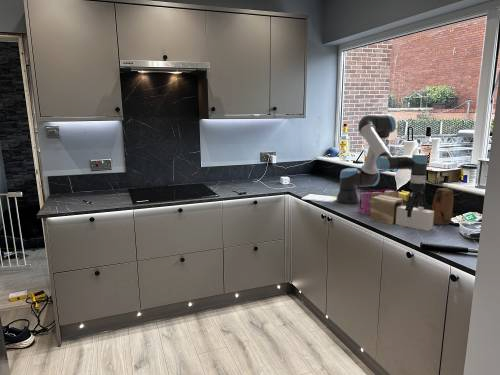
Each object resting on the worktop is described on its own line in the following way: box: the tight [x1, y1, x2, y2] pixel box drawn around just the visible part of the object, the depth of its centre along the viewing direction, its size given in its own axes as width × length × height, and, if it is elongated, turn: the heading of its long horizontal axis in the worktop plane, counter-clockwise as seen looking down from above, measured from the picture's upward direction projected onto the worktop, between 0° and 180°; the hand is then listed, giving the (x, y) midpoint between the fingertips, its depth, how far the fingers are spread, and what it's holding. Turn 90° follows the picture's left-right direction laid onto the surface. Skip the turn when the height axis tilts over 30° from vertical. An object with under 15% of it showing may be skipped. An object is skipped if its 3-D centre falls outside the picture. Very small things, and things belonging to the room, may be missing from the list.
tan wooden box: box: [369, 195, 404, 225], centre depth 219 cm, size 10×14×13 cm
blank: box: [395, 204, 434, 232], centre depth 207 cm, size 6×18×10 cm, turn 46°
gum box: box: [358, 189, 400, 215], centre depth 236 cm, size 24×8×14 cm, turn 99°
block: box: [431, 187, 454, 226], centre depth 211 cm, size 11×8×20 cm
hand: (414, 220), depth 207 cm, fingers open, 13 cm apart
